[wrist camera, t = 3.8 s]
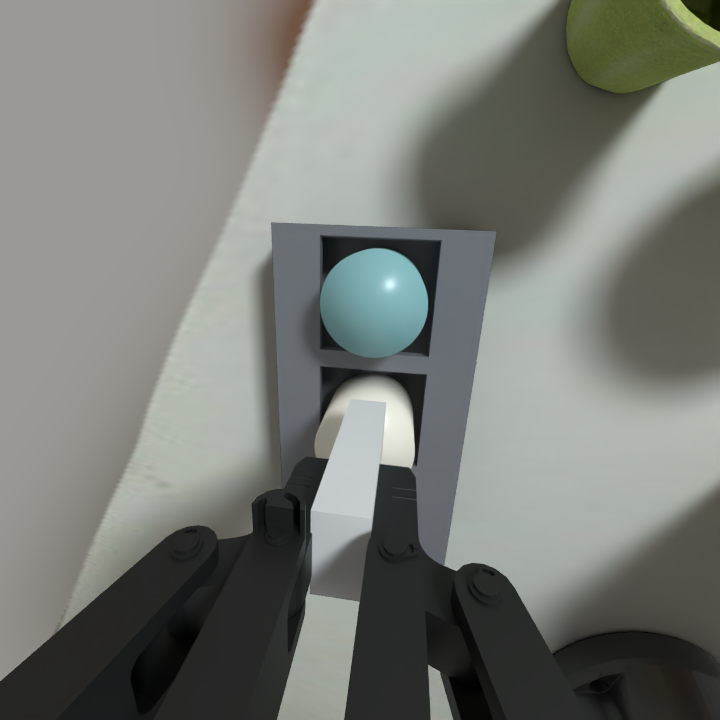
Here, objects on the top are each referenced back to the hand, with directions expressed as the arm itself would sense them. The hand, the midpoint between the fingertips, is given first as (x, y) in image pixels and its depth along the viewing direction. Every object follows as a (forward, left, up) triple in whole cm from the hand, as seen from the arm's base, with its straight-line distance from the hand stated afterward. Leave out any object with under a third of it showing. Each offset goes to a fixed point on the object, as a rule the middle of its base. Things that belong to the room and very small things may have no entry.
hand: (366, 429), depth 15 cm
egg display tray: (-2, 0, -9) cm, 9 cm away
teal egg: (+5, 0, -8) cm, 9 cm away
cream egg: (-2, 0, -6) cm, 7 cm away
